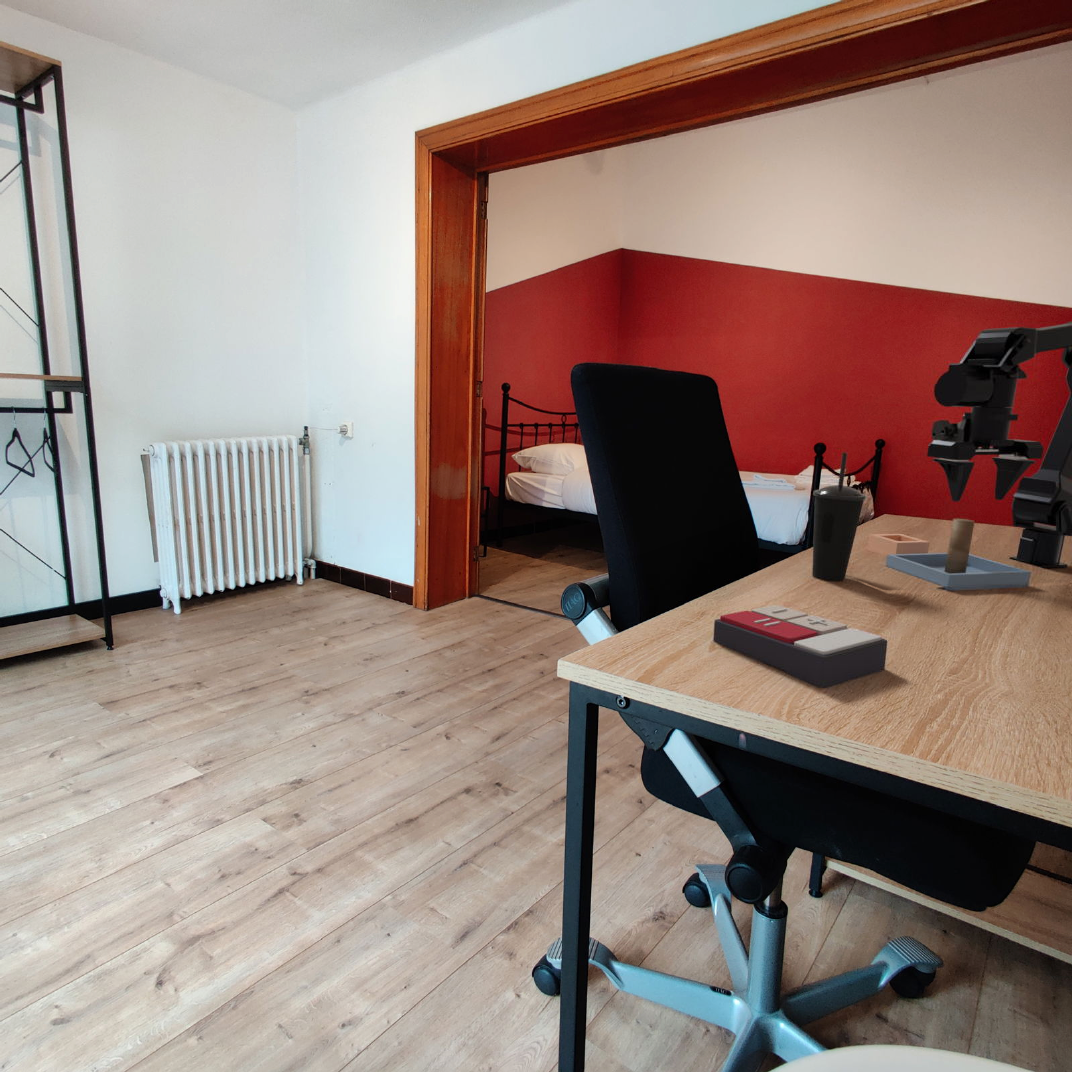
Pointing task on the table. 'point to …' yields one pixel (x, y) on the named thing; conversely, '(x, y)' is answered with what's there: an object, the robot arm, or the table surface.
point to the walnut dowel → (959, 546)
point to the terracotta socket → (896, 544)
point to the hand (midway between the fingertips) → (977, 500)
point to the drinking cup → (835, 527)
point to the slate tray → (976, 576)
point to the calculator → (802, 644)
